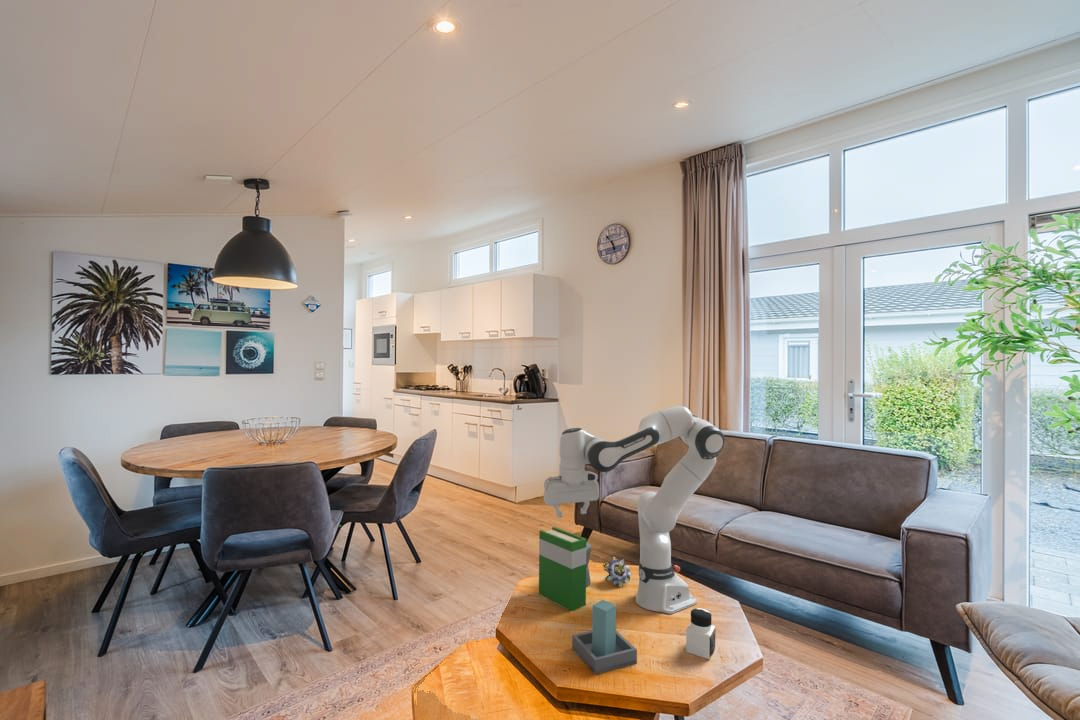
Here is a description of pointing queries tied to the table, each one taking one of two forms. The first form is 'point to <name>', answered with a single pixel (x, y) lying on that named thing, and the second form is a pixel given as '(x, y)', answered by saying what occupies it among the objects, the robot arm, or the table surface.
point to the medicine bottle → (700, 634)
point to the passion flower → (617, 572)
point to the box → (600, 664)
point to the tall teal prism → (603, 628)
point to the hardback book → (562, 568)
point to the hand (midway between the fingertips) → (571, 515)
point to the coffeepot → (588, 549)
